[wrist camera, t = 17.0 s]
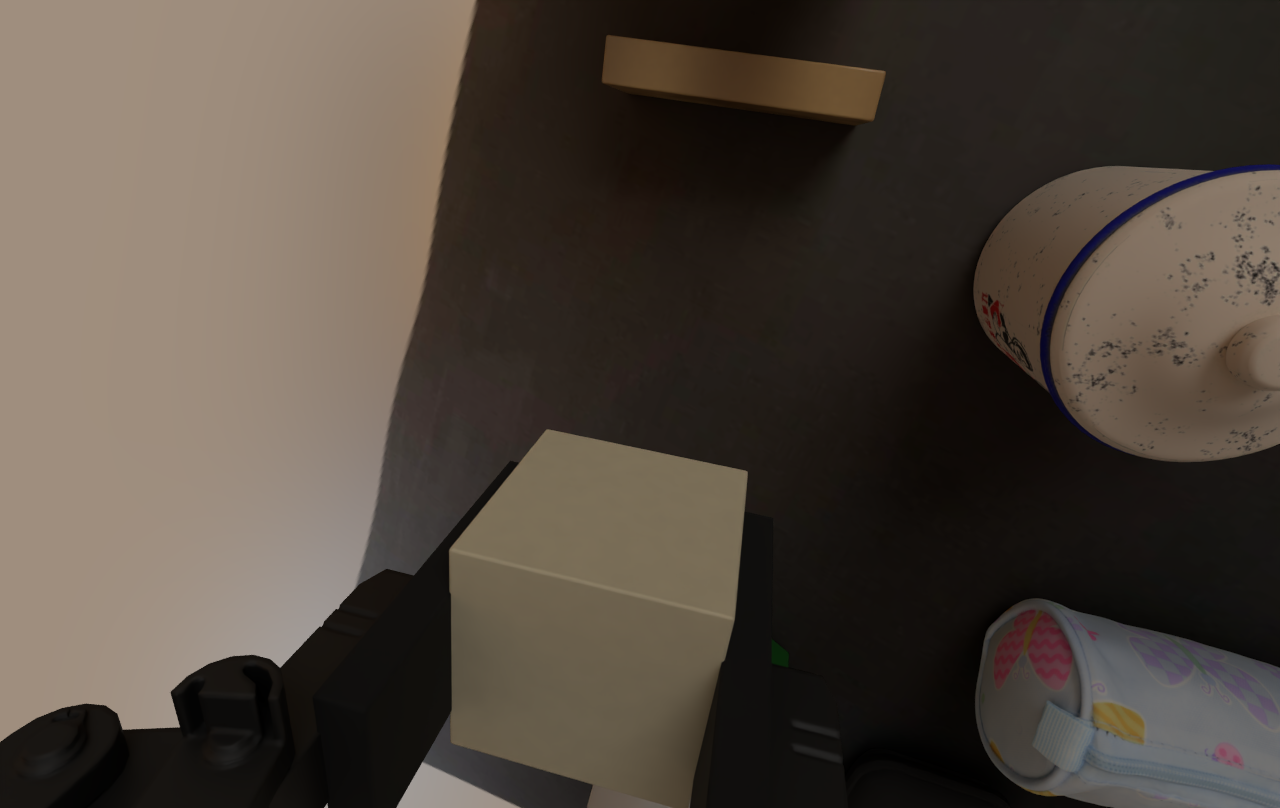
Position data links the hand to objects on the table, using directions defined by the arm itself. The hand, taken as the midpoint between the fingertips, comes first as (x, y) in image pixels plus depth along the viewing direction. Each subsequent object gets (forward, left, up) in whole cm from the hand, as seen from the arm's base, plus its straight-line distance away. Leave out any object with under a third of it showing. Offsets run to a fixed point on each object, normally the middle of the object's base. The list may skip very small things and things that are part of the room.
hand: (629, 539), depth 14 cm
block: (0, 0, 0) cm, 0 cm away
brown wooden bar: (0, -11, -18) cm, 21 cm away
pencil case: (-28, +14, -18) cm, 36 cm away
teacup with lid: (-17, -5, -18) cm, 25 cm away
